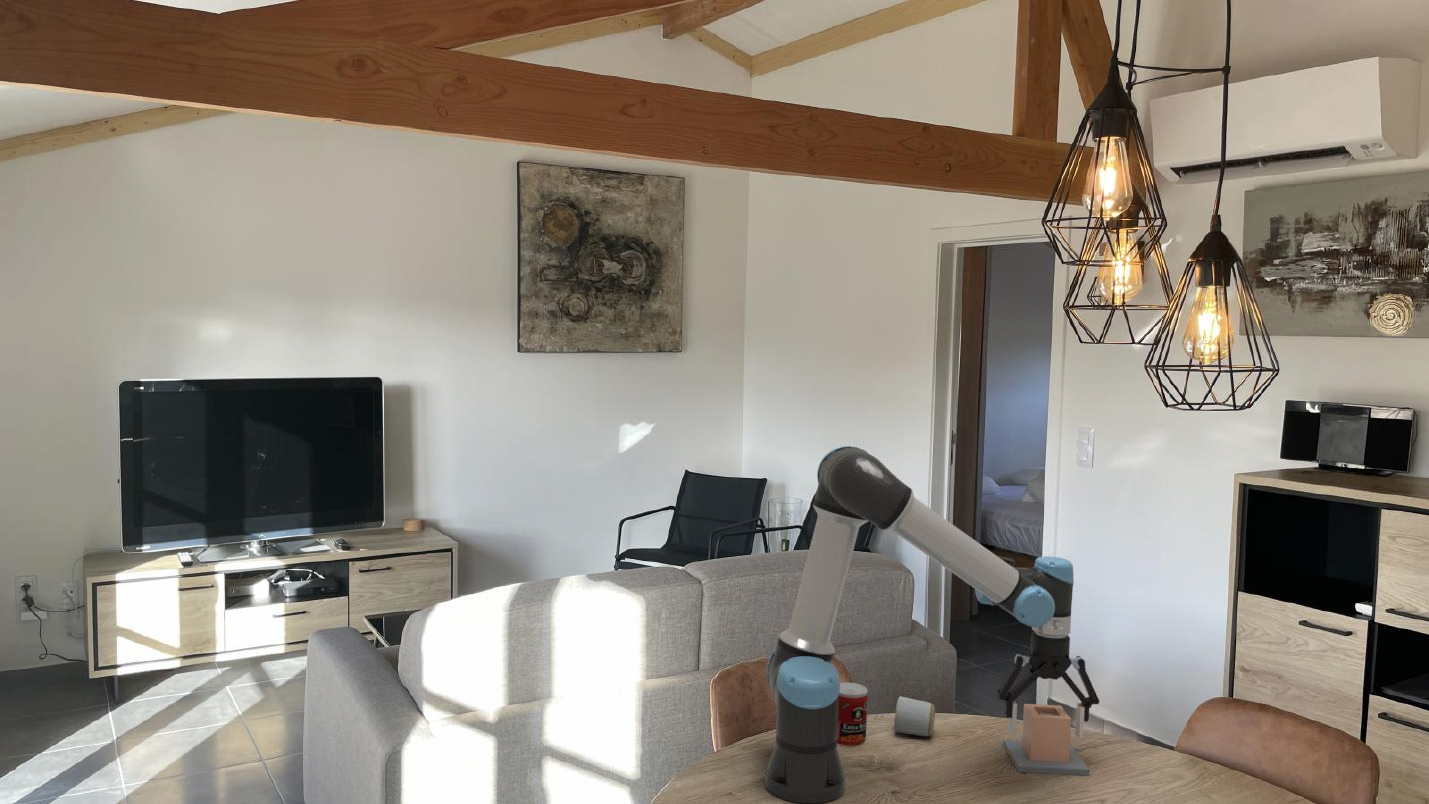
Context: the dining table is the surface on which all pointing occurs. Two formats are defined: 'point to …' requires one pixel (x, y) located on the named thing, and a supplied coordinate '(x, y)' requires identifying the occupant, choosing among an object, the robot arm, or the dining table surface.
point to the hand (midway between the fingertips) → (1045, 734)
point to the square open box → (1046, 733)
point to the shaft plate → (1027, 765)
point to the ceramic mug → (914, 717)
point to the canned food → (852, 714)
